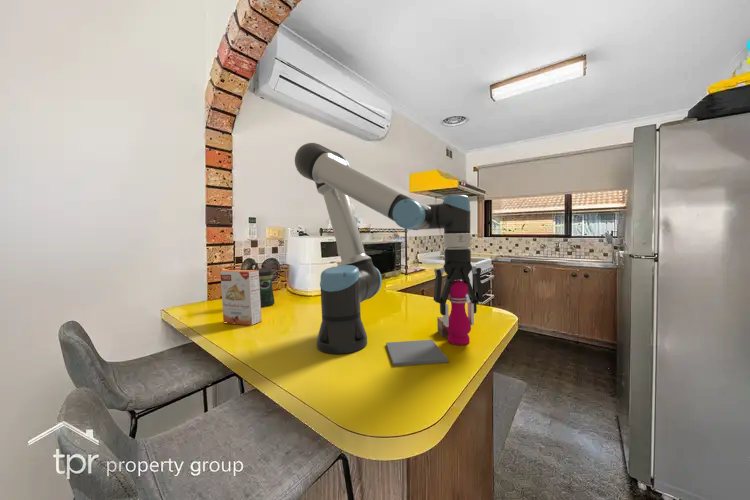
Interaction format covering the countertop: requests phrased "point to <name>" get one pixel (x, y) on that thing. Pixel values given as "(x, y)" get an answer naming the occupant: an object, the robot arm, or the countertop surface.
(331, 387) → the countertop surface
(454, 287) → the pepper mill
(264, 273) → the coffee jar
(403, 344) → the grey mat
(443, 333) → the marked cube
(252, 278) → the cracker box
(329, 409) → the countertop surface
